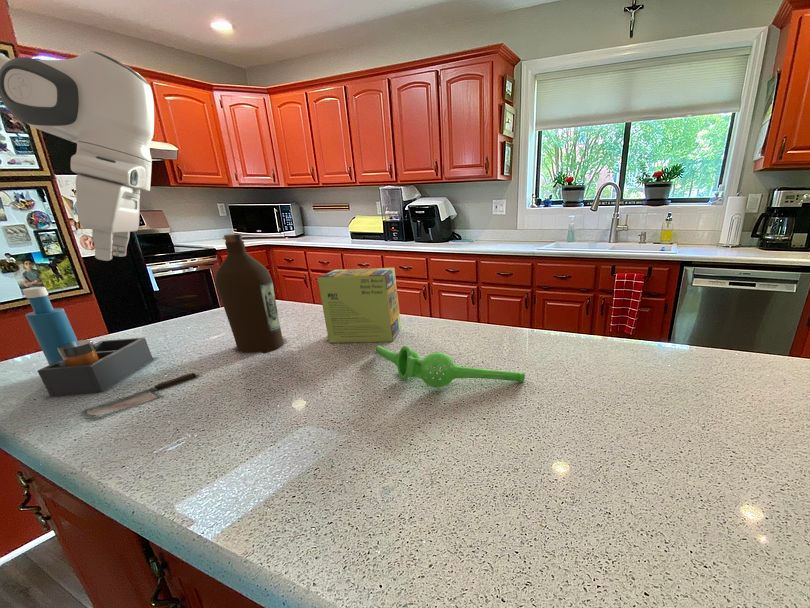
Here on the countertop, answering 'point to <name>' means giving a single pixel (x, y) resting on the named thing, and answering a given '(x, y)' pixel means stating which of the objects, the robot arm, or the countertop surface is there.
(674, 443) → the countertop surface
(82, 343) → the spice jar
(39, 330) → the water bottle
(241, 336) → the olive oil
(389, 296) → the protein box
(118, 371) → the cup holder
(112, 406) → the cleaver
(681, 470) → the countertop surface
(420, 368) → the lime squeezer
